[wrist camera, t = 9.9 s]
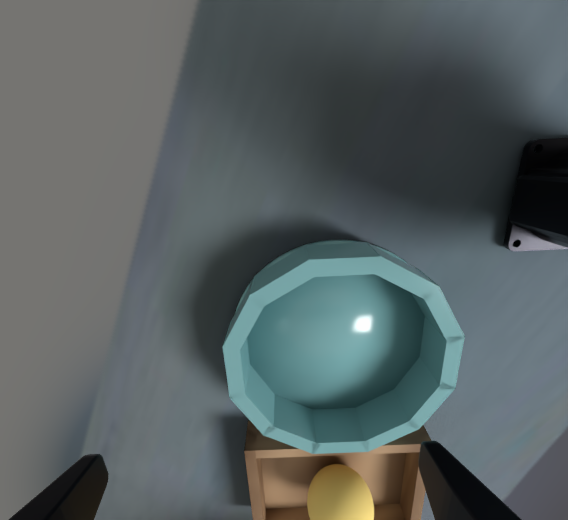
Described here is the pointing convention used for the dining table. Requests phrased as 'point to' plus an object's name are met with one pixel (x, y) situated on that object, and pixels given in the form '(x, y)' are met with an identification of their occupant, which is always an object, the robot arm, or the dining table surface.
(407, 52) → the dining table surface
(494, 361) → the dining table surface
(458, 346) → the bowl
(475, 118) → the dining table surface
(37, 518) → the robot arm
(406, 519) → the tray
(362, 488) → the ball
